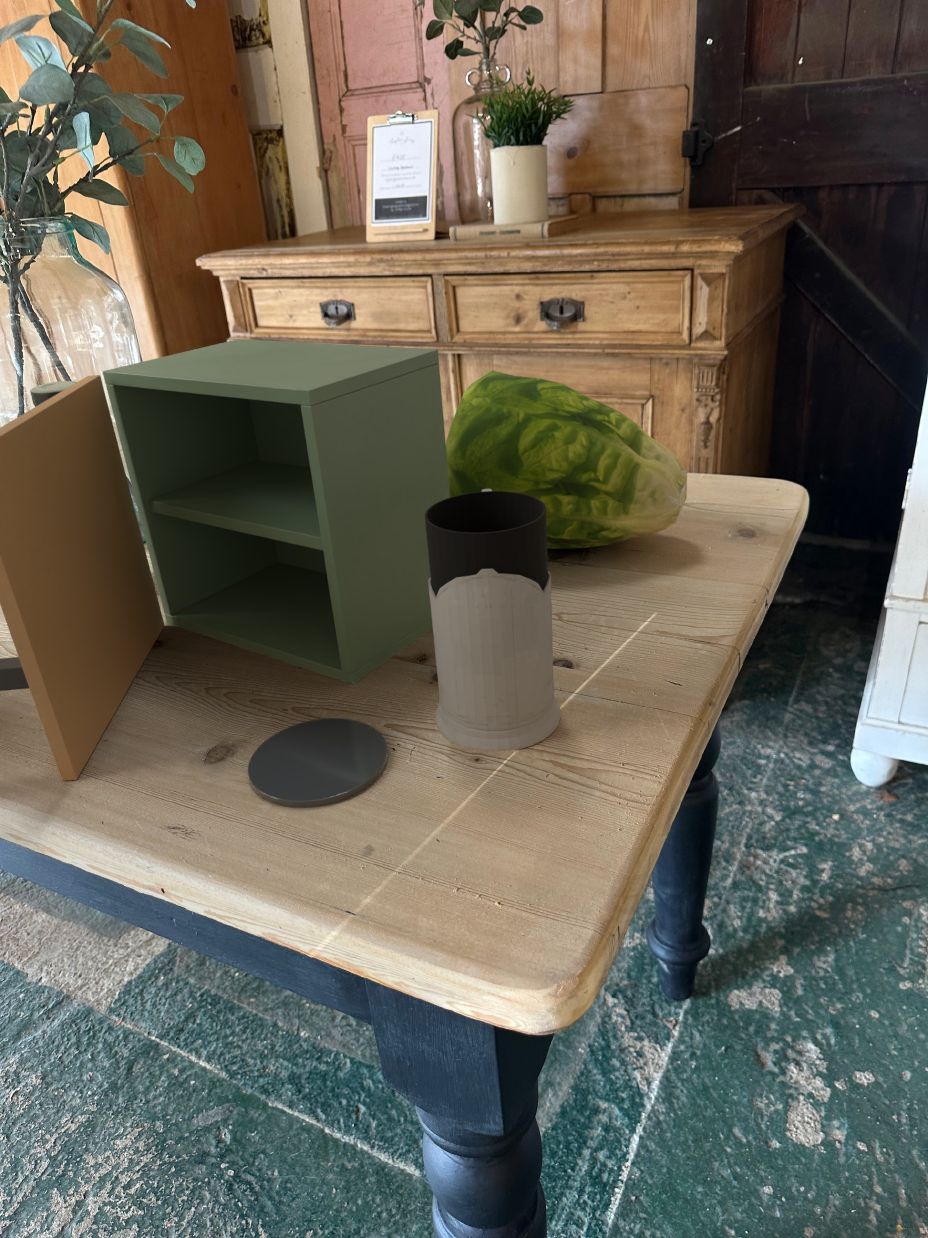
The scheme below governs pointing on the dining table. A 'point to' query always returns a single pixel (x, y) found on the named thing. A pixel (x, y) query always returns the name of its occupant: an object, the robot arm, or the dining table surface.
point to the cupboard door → (72, 570)
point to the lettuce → (564, 460)
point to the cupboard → (289, 494)
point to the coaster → (317, 763)
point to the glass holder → (492, 620)
